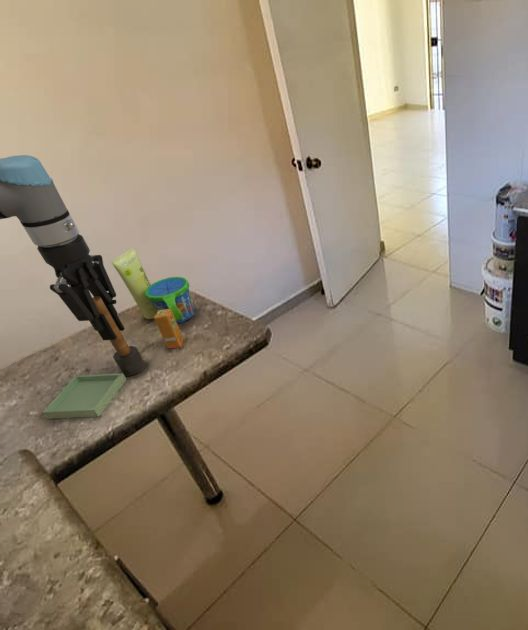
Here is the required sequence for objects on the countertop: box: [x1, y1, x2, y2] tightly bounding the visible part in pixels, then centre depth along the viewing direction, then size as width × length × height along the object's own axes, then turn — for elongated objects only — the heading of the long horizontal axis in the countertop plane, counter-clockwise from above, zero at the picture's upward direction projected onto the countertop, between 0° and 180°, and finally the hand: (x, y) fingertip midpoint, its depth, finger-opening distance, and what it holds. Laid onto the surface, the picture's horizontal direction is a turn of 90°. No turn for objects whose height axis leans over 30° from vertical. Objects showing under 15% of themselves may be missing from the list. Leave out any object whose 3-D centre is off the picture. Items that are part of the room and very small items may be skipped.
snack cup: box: [145, 276, 195, 324], centre depth 119 cm, size 16×10×10 cm
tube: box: [110, 247, 158, 320], centre depth 117 cm, size 6×5×20 cm
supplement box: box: [153, 309, 185, 350], centre depth 109 cm, size 3×4×10 cm
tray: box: [42, 372, 127, 420], centre depth 97 cm, size 11×11×2 cm
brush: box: [92, 296, 147, 377], centre depth 98 cm, size 5×5×20 cm
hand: (114, 334), depth 98 cm, fingers closed on brush, 3 cm apart
